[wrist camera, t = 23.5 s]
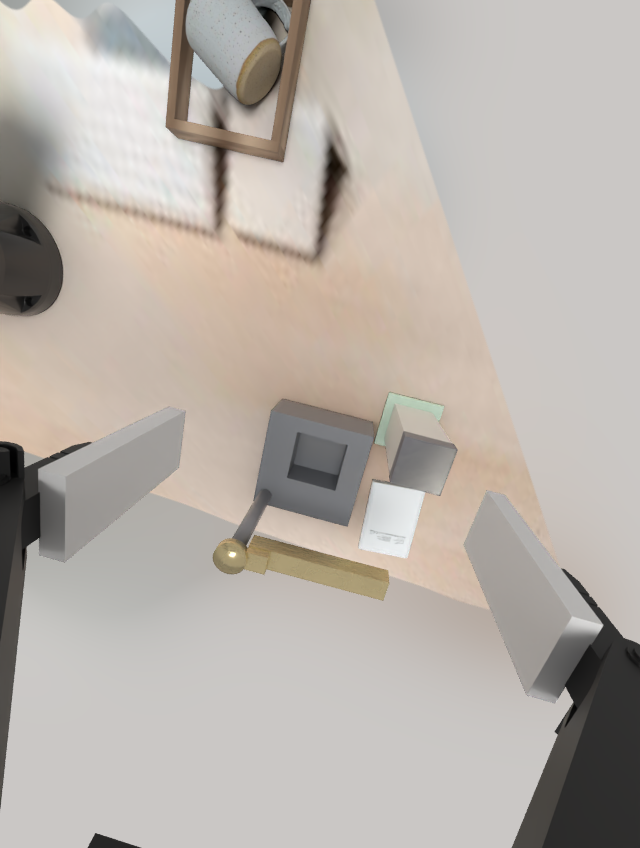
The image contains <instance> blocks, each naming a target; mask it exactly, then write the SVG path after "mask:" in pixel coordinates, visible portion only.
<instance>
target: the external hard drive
mask: <svg viewBox="0 0 640 848" xmlns="http://www.w3.org/2000/svg"><path fill="white" fill-rule="evenodd" d="M424 495H425V492H423V491H419V490H416V489H412V488H408V487H404V486H401V485H397V484H393V483H390V482H386V481H381V480H375V479H372V484H371V488H370V493H369V498H368V503H367V507H366V512H365V517H364V521H363V526H362V531H361V535H360V540H359V545H358V548H359V549H361V550H367V551H372V552H377V553H382V554H387V555H391V556H396V557H401V558H408V554H409V550H410V547H411V543H412V539H413V536H414V532H415V528H416V525H417V521H418V517H419V514H420V510H421V506H422V502H423V499H424Z"/></svg>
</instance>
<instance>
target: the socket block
mask: <svg viewBox="0 0 640 848" xmlns="http://www.w3.org/2000/svg"><path fill="white" fill-rule="evenodd" d="M373 439H374V429H373V422H371V421H367V420H363V419H359V418H355V417H352V416H348V415H344V414H340V413H336V412H332V411H328V410H324V409H321V408H317V407H313V406H309V405H305V404H301V403H297V402H294V401H290V400H286V399H282V400H281V401H280V402H279V403H278V404H277V405H276V406H275V407H274V408H273V409H272V410H271V414H270V420H269V425H268V430H267V435H266V440H265V445H264V450H263V455H262V460H261V465H260V470H259V475H258V480H257V485H256V490H255V495H254V500H253V501H254V502H253V504H252V506H251V507H250V509H249V511H248V512H247V514H246V516H245V517H244V519H243V521H242V523H241V524H240V526H239V528H238V529H237V531H236V533H235V534H234V536H233V538H232V539H237V540H239V541H241V542H242V543H244V544H245V545H247V543H248V541H249V539H250V537H251V535H252V533H253V531H254V529H255V527H256V526H257V524H258V522H259V520H260V518H261V516H262V514H263V512H264V510H265V508H266V506H267V505H269V506H273V507H277V508H281V509H284V510H288V511H292V512H295V513H299V514H303V515H306V516H310V517H314V518H317V519H321V520H325V521H328V522H332V523H336V524H339V525H343V526H348V523H349V520H350V516H351V513H352V509H353V506H354V503H355V499H356V496H357V493H358V489H359V486H360V483H361V479H362V476H363V473H364V469H365V466H366V462H367V459H368V456H369V452H370V449H371V446H372V442H373Z"/></svg>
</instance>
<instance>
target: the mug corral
mask: <svg viewBox="0 0 640 848" xmlns="http://www.w3.org/2000/svg"><path fill="white" fill-rule="evenodd" d="M190 1H191V0H176V4H175V17H174V30H173V41H172V54H171V66H170V78H169V91H168V103H167V115H166V128H167V129H169V130H170V131H171V132H172V133H173V134H174V135H175V136H176V137H177V138H180V139H184V140H189V141H193V142H197V143H202V144H206V145H211V146H215V147H219V148H224V149H228V150H232V151H237V152H241V153H246V154H250V155H254V156H259V157H263V158H267V159H272V160H276V161H281V162H283V160H284V154H285V148H286V143H287V137H288V131H289V125H290V119H291V113H292V107H293V101H294V96H295V90H296V84H297V78H298V72H299V66H300V60H301V54H302V49H303V43H304V37H305V31H306V25H307V19H308V13H309V7H310V2H311V0H283V1H284V3H285V4H286V5H287V6H289V7H292V12H291V19H290V25H289V31H288V38H287V44H286V50H285V57H284V63H283V69H282V75H281V82H280V88H279V94H278V101H277V107H276V113H275V120H274V126H273V132H272V138H271V140H266V139H262V138H258V137H253V136H249V135H244V134H240V133H235V132H231V131H227V130H222V129H218V128H213V127H209V126H204V125H200V124H196V123H191V122H187V116H188V105H189V95H190V85H191V74H192V64H193V53H194V50H193V49H192V48H191V46H190V44H189V42H188V39H187V36H186V15H187V10H188V7H189V4H190Z"/></svg>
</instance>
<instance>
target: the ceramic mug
mask: <svg viewBox="0 0 640 848" xmlns="http://www.w3.org/2000/svg"><path fill="white" fill-rule="evenodd" d="M259 6H263V7H268V8H271V9H273V10H274V11H275V12H276V13H277V14H278V16H279V17H280V19H281V20H282V22H283V24H284V27H285V29H286V30H287V31H289V25H290V19H291V13H290V10H289V9H288V7H287V5H286V4H285V3H284V1H283V0H191V1H190V4H189V7H188V10H187V15H186V36H187V39H188V42H189V44H190V46H191V48H192V49H193V50H194V52H195V53H196V54H197V55H198V56H199V57H200V59H202V61H203V62H204V63H205V64H206V66H207V67H208V68H209V69H210V70H211V71H212V73H213V74H214V75H215V76H216V77H217V78H218V79H219V81H220V82H221V83H222V84H223V85H224V87H225V88H226V89H227V90H228V91H229V93H230V94H231V95H232V96H233V97H235V98H236V99H237V100H238V101H239V102H241V103H242V104H245V105H250V104H254V103H256V102H258V101H260V100H261V99H262V98H263V97H264V96H265V95H266V94H267V93H268V92H269V90H270V89H271V87H272V86H273V84H274V82H275V81H276V78H277V76H278V74H279V70H280V67H281V61H282V55H283V54H284V53H285V50H286V44H287V38H288V35H287V36H286V37H285V39H284V40H282V41H281V42H280V43H279V42H278V40H277V38H276V36H275V34H274V32H273V31H272V29H271V28H270V26H269V25H268V23H267V22H266V21H265V20H264V18H263V17H262V16H261V14H260V13H259V11H258V10H257V8H256V7H259Z"/></svg>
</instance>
